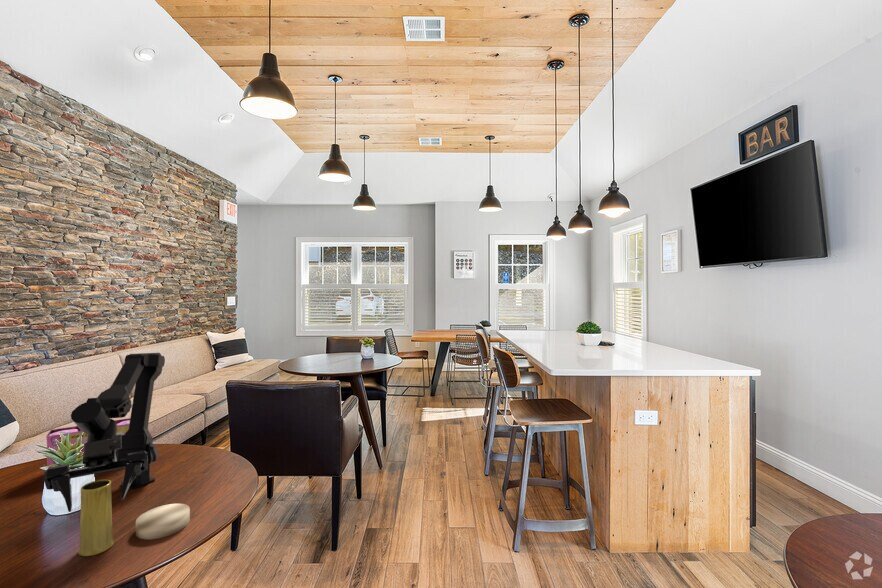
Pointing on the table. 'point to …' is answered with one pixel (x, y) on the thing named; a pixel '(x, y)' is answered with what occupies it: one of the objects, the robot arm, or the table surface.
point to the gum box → (76, 432)
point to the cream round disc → (162, 521)
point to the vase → (96, 518)
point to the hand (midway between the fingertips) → (96, 505)
